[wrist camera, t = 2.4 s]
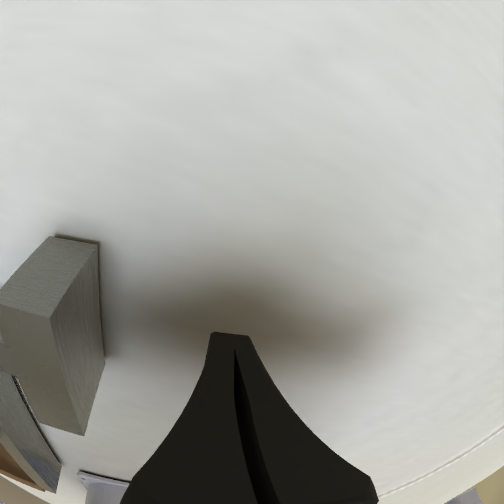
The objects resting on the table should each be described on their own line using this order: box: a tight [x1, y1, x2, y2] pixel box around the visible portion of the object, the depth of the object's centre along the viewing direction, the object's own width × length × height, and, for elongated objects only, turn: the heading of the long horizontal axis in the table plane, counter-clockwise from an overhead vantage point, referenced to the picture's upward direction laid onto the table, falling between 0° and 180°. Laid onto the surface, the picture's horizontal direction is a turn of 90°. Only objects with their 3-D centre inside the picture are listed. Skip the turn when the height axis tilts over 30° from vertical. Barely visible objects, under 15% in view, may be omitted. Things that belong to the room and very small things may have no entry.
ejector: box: [0, 236, 105, 494], centre depth 12 cm, size 23×8×4 cm, turn 167°
